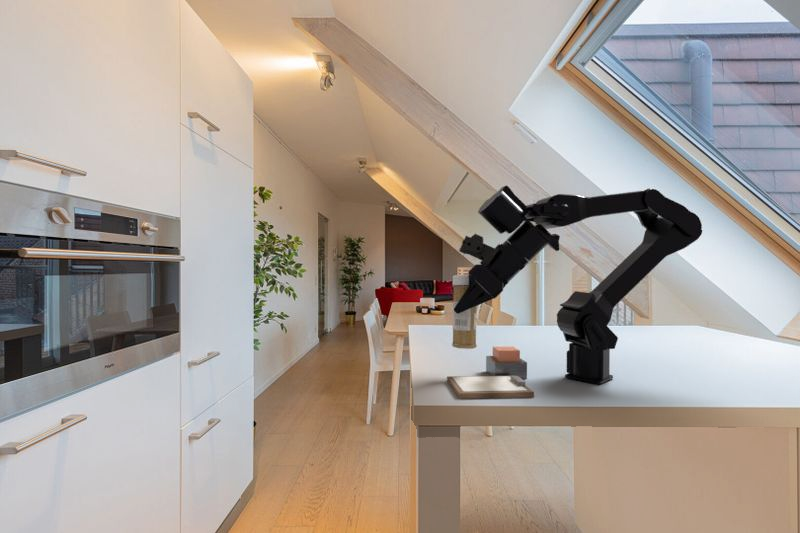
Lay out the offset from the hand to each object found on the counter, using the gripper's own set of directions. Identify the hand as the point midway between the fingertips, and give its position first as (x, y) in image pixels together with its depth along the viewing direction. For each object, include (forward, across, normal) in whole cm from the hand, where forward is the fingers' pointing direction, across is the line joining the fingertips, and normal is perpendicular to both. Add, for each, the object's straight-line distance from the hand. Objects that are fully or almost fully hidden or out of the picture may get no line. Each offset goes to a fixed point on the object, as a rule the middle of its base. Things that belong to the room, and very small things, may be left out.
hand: (457, 310), depth 84 cm
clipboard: (+4, +7, +13) cm, 15 cm away
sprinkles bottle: (+4, +1, +6) cm, 7 cm away
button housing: (+2, -3, +15) cm, 16 cm away
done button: (+1, -3, +14) cm, 14 cm away
